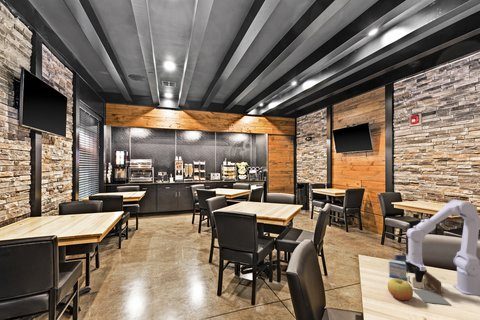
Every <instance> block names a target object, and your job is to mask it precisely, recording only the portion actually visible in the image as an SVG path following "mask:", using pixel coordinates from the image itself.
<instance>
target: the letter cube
mask: <svg viewBox="0 0 480 320" xmlns="http://www.w3.org/2000/svg"><path fill="white" fill-rule="evenodd" d="M407 282H408V283H409V284H410V285H411V287H412V288H416V289H424V288H425V283H424V277H423V279H422V282H416V278H415V273H409V272H407Z"/></svg>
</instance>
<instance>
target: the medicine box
mask: <svg viewBox="0 0 480 320" xmlns="http://www.w3.org/2000/svg"><path fill="white" fill-rule="evenodd" d="M388 277H389V278H392V279H401V280H404V281H407V271H406V263H405V262H403V261H397V260H394V259H391V258H389V259H388Z"/></svg>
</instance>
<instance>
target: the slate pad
mask: <svg viewBox="0 0 480 320" xmlns="http://www.w3.org/2000/svg"><path fill="white" fill-rule="evenodd" d="M412 289H413V293H415V294H416V295H417V296H418V297H419V298H420V299H421V300H422V301H423V302H424V303H426V304H435V305H442V306H443V305H444V306H452V304H451V303H450V302H449V301H448V300H447V299H445V298H444V297H443V295H441V294H438V293H436V292H435V291H433V290H429V289H419V288H412Z"/></svg>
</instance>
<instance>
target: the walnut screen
mask: <svg viewBox="0 0 480 320" xmlns="http://www.w3.org/2000/svg"><path fill="white" fill-rule="evenodd" d="M423 278H424V285H425V286H427V287H428V288H430V289H431V291H435V292H436V293H438V294H440V295H441V296H445V292H443V291H442V282H441V281H440V280H438V279H437V278H436V277H435V276H434V275H433V274H431V273H429V272H428V271H427V272H426V273H425V274H424V276H423Z"/></svg>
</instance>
